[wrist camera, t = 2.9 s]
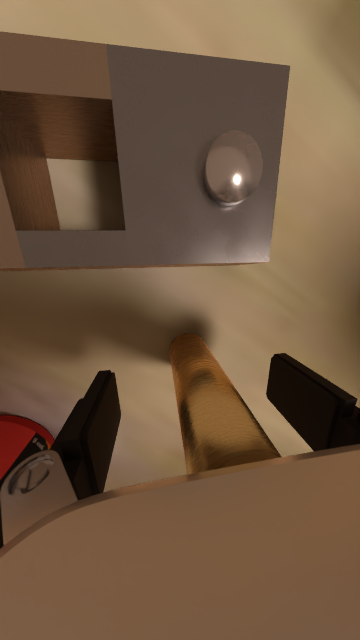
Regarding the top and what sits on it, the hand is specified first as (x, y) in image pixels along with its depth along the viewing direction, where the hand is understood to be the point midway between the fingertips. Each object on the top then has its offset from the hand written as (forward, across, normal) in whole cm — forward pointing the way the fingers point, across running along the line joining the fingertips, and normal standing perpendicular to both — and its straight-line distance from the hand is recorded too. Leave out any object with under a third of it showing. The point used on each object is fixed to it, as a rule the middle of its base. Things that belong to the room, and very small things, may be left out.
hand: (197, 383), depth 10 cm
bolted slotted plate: (+5, +6, -11) cm, 13 cm away
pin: (+5, 0, 0) cm, 5 cm away
